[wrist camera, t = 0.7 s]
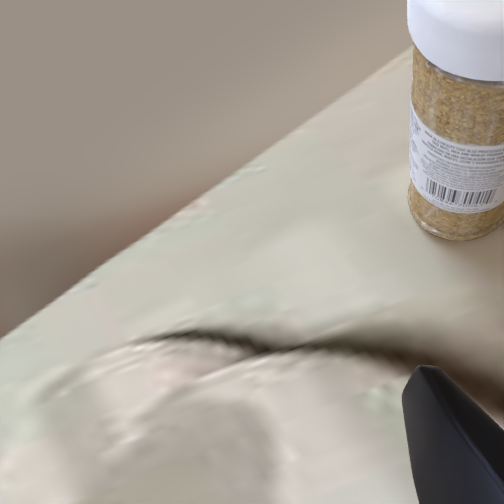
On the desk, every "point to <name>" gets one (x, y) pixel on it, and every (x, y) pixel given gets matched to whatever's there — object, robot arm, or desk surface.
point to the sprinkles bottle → (457, 116)
